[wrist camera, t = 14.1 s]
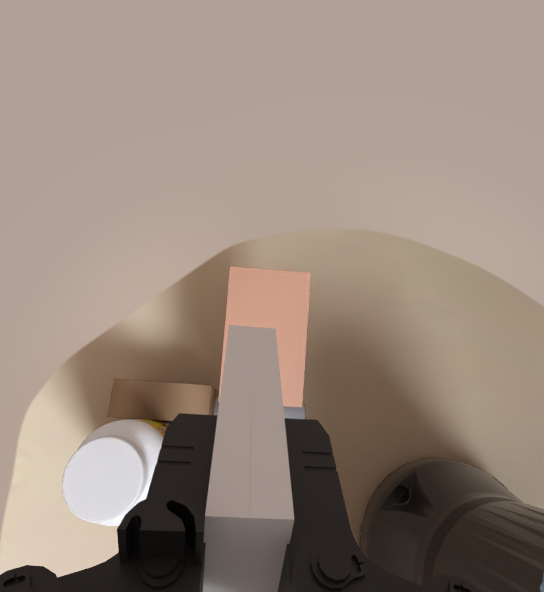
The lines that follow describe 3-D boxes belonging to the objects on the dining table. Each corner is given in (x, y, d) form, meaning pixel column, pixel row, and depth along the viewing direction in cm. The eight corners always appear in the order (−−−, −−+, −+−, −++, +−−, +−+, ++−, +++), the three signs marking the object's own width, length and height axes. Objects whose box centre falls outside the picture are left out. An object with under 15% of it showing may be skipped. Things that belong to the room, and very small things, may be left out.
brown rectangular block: (215, 389, 37) (211, 385, 32) (212, 421, 36) (207, 423, 31) (131, 383, 37) (114, 378, 32) (125, 416, 36) (107, 416, 31)
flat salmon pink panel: (215, 418, 29) (213, 423, 27) (228, 268, 30) (226, 265, 28) (301, 423, 29) (304, 428, 27) (310, 275, 30) (314, 272, 28)
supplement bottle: (195, 485, 35) (169, 523, 22) (120, 508, 34) (49, 561, 21) (180, 409, 36) (148, 407, 24) (108, 429, 35) (37, 437, 23)
